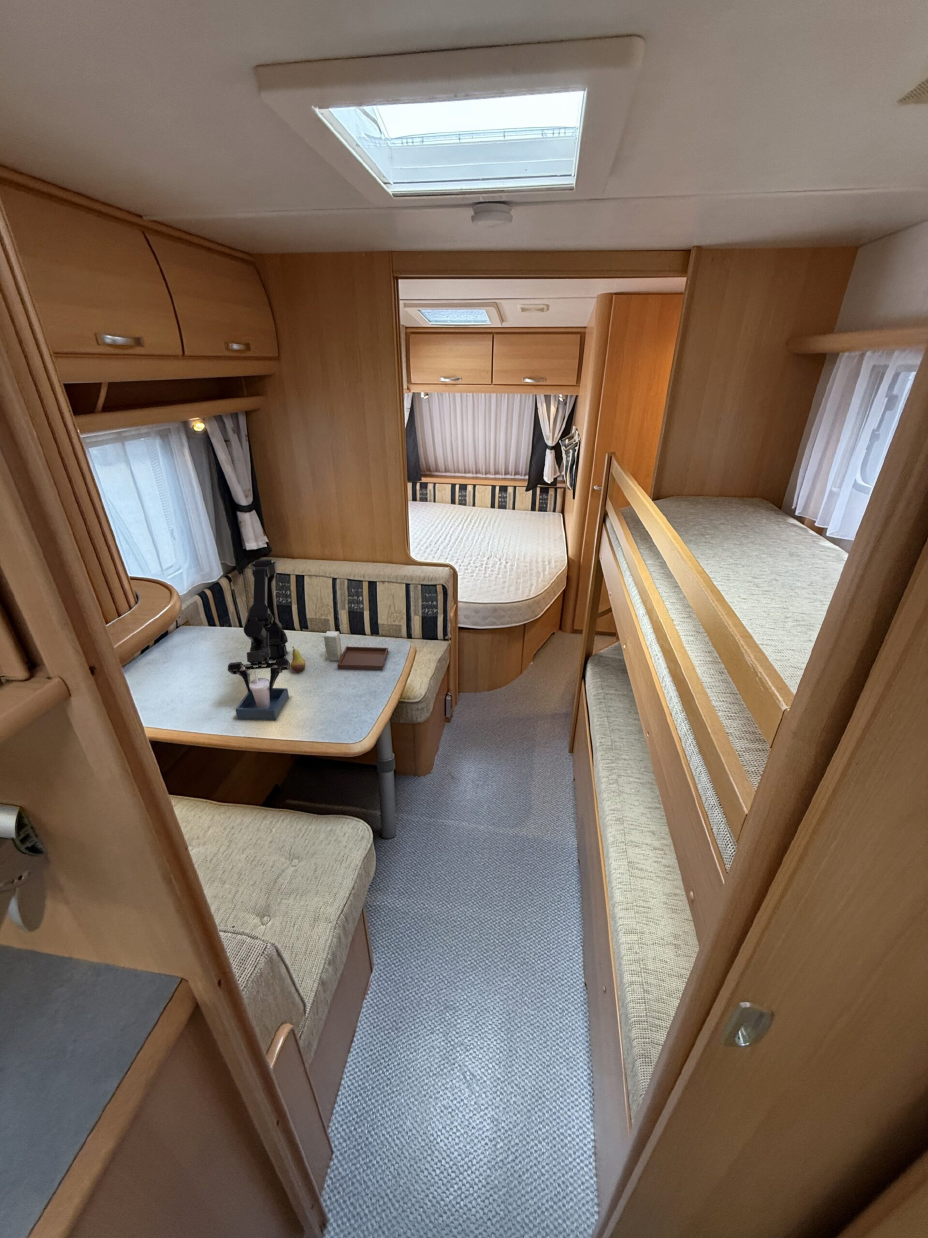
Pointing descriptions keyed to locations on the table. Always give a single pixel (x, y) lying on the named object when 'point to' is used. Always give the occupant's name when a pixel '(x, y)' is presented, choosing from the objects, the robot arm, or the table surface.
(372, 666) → the tray
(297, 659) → the fruit
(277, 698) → the bin
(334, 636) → the box
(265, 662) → the robot arm
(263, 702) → the smoothie
